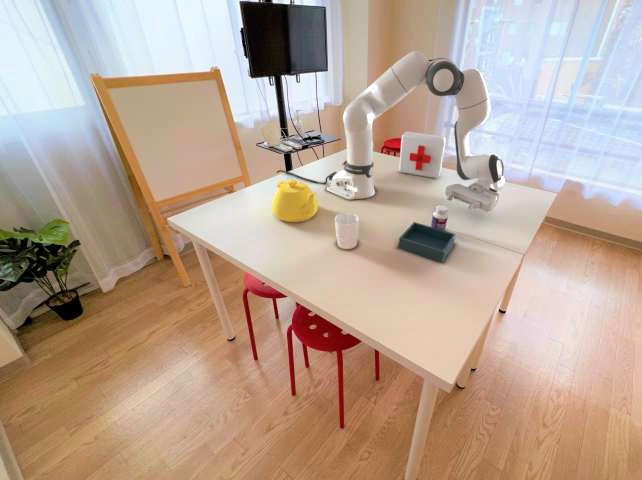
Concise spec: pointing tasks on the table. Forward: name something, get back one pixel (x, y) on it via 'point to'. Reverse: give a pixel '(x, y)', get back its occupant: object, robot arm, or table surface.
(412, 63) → the robot arm
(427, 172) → the bevelled white case
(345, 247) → the white cup
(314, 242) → the table surface
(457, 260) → the table surface
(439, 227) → the pill bottle
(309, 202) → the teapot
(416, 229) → the tote
